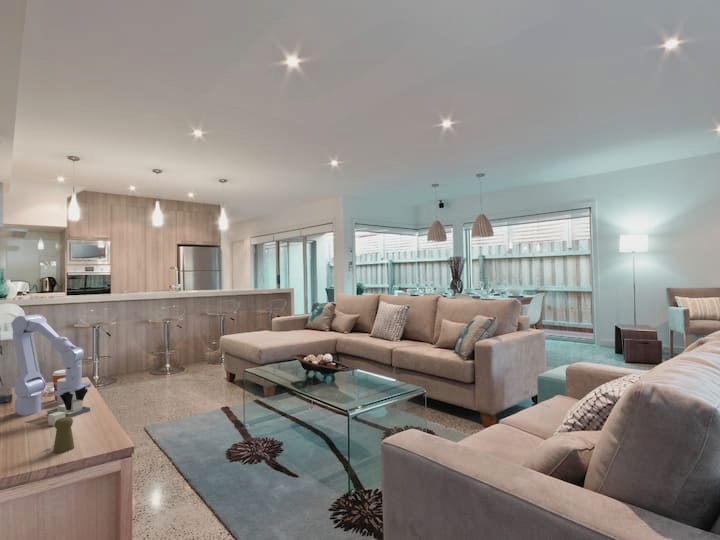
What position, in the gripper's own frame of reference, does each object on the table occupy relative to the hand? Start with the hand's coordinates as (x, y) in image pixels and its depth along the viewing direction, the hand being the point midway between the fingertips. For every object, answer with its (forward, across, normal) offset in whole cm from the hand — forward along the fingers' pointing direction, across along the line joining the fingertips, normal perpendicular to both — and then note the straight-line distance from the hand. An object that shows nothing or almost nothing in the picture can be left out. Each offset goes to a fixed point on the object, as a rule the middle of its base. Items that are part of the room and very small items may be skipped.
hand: (73, 407), depth 172 cm
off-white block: (+2, -10, -5) cm, 12 cm away
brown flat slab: (+4, -10, +1) cm, 11 cm away
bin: (+4, 0, +3) cm, 5 cm away
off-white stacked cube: (+1, 0, 0) cm, 1 cm away
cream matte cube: (+3, 0, +5) cm, 6 cm away
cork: (+4, -23, -28) cm, 37 cm away
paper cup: (+4, +15, +30) cm, 33 cm away
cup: (+4, +11, +20) cm, 23 cm away
